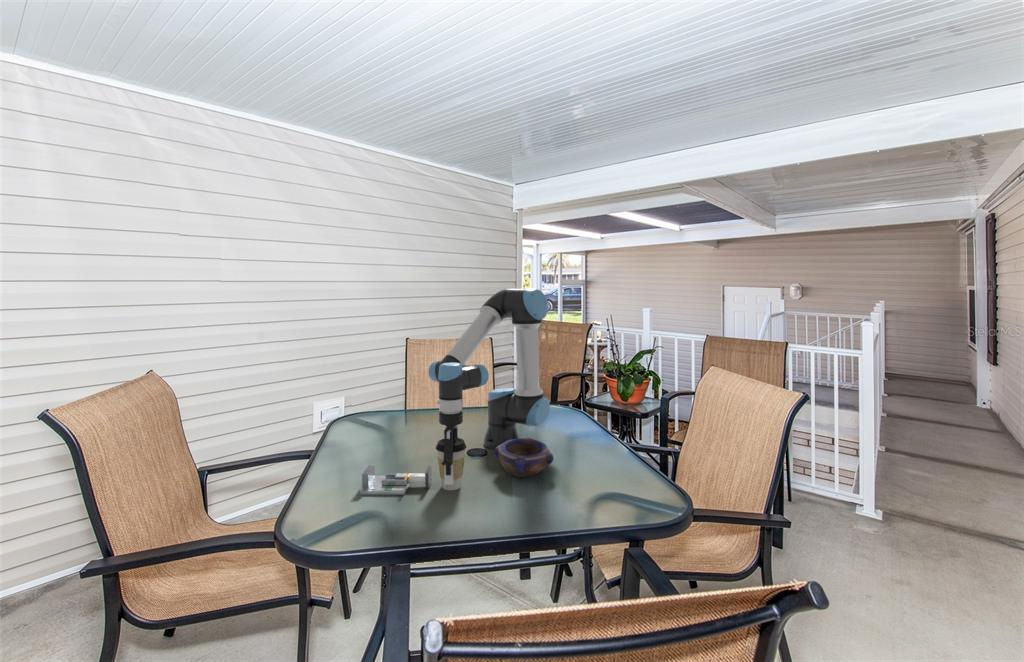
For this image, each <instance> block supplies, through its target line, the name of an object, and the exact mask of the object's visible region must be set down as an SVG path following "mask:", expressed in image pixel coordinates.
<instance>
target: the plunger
mask: <svg viewBox="0 0 1024 662" xmlns="http://www.w3.org/2000/svg"><path fill="white" fill-rule="evenodd" d="M432 471H433V470H432V465H428V466H427V467H426V471H425V472H424V473H423V472H420V473H418V472H416V473H415V472H413V473H412V472H411V473H409V472H405V473H404V472H403V473H401V472H398V473H395V474H396V476H395V479H404V481H406V480H407V484H410V485H411V484H412V485H413V484H414V485H415V484H416V485H417V484H421V485H424V484H425V489H429V488H430V486H431V483H432V478H433V477H432V476H433V475H432Z"/></svg>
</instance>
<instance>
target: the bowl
mask: <svg viewBox="0 0 1024 662" xmlns="http://www.w3.org/2000/svg"><path fill="white" fill-rule="evenodd" d="M494 454H495V456H496V458H497V459H498V461H500V465H501V466H502V467H503V468H504V470H505V471H506V472H507V473H509V474H510V475H512V476H513V477H518V478H524V477H525V478H526V477H532V476H535V475H537V474H538V473H541V471H543V470H544V469H545V468H547V467H548V466H549V465H551V464H552V463H554V462H553V461H554V455H553V453H552V452H551V451H550V449H549V447H548V446H547V444H546V443H544V442H542V441H540V440H538V439H534V438H530V437H528V438H526V437H523V438H522V437H520V439H512V440H508V441H506V442H504V443H502V444H501V445H499V446H497V447H496V448H495V449H494Z"/></svg>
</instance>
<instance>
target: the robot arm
mask: <svg viewBox="0 0 1024 662" xmlns="http://www.w3.org/2000/svg"><path fill="white" fill-rule="evenodd" d="M548 312H549V303H548V298H547V296H546V295H545V294H544V292H543V291H542V290H540V289H539V288H532V287H531V288H530V287H528V288H524V287H523V288H504V289H501V290H500V291H497V292H496V293H494V294H493V295H492V296H491V297H490V298H488V299H487V300H486V301H485V302H484V303H483V305H482V306H481V307H480V309H479V313H478V314H477V316H476V317H475V318H474V319H473V321H472V322H471V323H470V325H469V326H468V327H467V329H465V331H464V332H463V333H462V335H461V336H460V337H459V339H457V341H456V342H455V344H453V345H452V346H451V348H450V350H448V352H447V353H446V354H445V356H444V357H443V358H442V360H436V361H435V360H434V361H433V362H432V363H431V364H430V365H429V367H428V377H429V378H430V380H432V381H433V382H435V383H438V400H437V401H436V404H438V405H439V406H438V407H439V408H438V410H439V413H438V421H439V424H440V425H442V426H445V428H444V430H443V435H444V436H443V437H444V438H443V439H444V460H443V462H442V465H444V485H453V445H454V444H455V440H456V438H459V435H458V432H459V431H458V429H459V428H458V425H461V424H462V423H463V422H464V421H463V409H464V407H463V405H464V404H463V402H464V400H463V399H464V398H463V391H467V390H470V389H475V388H480V387H482V386H485V385H486V384H487V383H488V381H489V377H490V375H489V370H488V369H487V367H486V366H485V365H484V364H473V365H469V364H466V363H468V361H469V360H470V358H472V356H473V355H474V353H475V352H476V351H477V350H478V348H479V347H480V346H481V344H482V343H483V341H484V340H485V339H486V337H487V336H488V335H489V334H490V332H492V331H493V329H494V328H495V326H498V325H500V323H501V322H502V321H503V320H505V319H511V325H513V326H514V327H515V329H516V330H515V333H516V335H515V336H516V337H515V338H516V369H517V371H516V373H517V388H514V387H504V388H497V389H492V390H490V391H489V392H488V396H487V397H488V399H487V420H488V421H487V422H488V423H487V428H486V432H485V434H484V437H483V444H484V446H485V447H486V448H489V449H492V450H495V448H496V447H497V446H499V445H501V444H502V443H504V442H506V441H508V440H512V439H520V438H521V437H520V435H519V431H518V427H517V424H518V425H519V424H520V425H524V426H527V427H534V428H536V427H540V426H542V425H544V423H545V422H546V421H547V419H548V418H549V417H548V416H549V413H550V410H551V405H550V401H549V399H548V398H546V397H544V390H543V389H542V388H541V387H540V358H539V357H540V350H539V349H540V346H539V345H540V344H539V327H540V326H541V325H542V324H543V319H545V318H546V317H547V313H548ZM446 460H449V461H446Z"/></svg>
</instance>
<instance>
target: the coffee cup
mask: <svg viewBox="0 0 1024 662" xmlns="http://www.w3.org/2000/svg"><path fill="white" fill-rule="evenodd" d="M466 449H467V444H466V442H465V440H464V439H463V438H459V437H458V438H456V440H455V444H454V445H453V485H444V465H442V462H443V460H444V438H442V439H439V440H438V441H437V444H436V445H435V450H436V451H437V461H438V470H439V476H440V477H439V478H440V480H441V482H440V483H441V487H442V490H445V491H457V490H459V489H460V488H461V487H462V481H463V474H464V464H465V458H466V457H465V452H466V451H465V450H466ZM446 461H449V460H446Z"/></svg>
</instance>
